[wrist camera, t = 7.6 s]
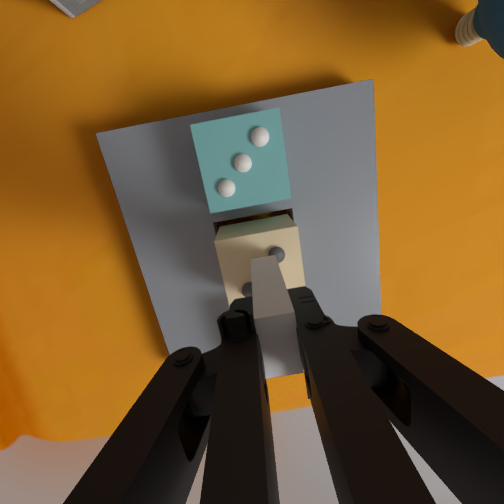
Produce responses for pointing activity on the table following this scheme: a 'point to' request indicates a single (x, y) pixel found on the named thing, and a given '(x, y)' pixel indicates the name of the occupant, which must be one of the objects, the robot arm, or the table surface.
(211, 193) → the key three
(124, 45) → the table surface
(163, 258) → the gray square board
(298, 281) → the key two
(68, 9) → the hard drive box
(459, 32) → the blue piece
